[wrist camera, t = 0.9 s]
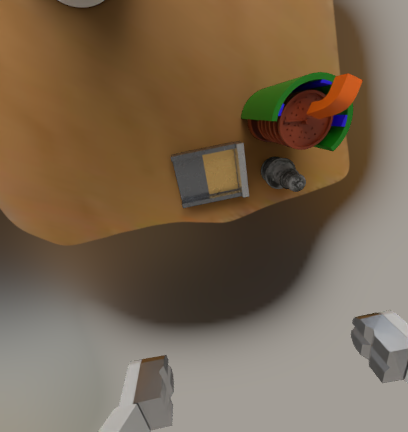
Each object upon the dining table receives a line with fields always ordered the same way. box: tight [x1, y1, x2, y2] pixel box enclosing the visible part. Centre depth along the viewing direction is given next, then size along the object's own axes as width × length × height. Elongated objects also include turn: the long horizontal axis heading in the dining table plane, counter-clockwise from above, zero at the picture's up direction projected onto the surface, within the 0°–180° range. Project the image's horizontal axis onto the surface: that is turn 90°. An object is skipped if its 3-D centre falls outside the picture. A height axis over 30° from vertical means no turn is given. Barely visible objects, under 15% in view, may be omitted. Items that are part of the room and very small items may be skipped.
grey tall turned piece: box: [261, 157, 306, 192], centre depth 40 cm, size 6×6×12 cm
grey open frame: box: [171, 141, 249, 208], centre depth 43 cm, size 13×10×4 cm
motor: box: [241, 72, 363, 151], centre depth 32 cm, size 10×9×20 cm
